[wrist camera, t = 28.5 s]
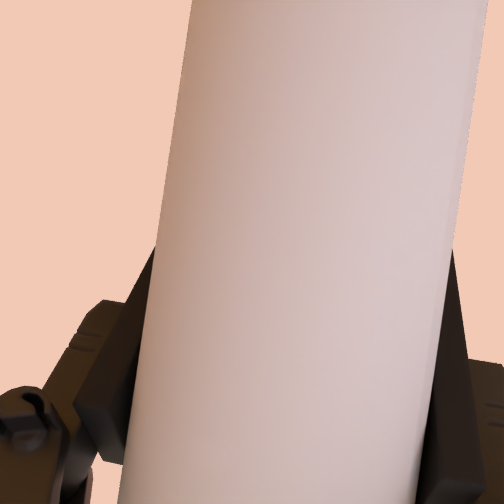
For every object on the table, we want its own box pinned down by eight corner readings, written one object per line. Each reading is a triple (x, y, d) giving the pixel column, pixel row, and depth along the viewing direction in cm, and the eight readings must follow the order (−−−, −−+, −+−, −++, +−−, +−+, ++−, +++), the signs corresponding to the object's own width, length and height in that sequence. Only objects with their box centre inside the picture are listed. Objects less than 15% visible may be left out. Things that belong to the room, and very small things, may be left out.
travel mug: (147, -151, 10) (13, 739, 10) (449, -385, 6) (223, 1149, 6) (305, -7, 15) (214, 606, 15) (539, -80, 11) (414, 781, 11)
